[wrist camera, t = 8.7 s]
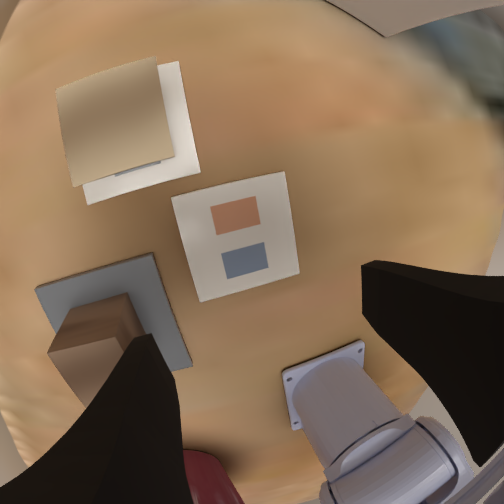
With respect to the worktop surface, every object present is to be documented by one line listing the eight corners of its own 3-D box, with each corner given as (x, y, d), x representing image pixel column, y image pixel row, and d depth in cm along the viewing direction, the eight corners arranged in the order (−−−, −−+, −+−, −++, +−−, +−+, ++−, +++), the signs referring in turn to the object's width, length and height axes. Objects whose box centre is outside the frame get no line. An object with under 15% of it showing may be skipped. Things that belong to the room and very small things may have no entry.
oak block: (174, 156, 15) (174, 156, 11) (101, 178, 15) (72, 187, 10) (160, 84, 14) (155, 55, 9) (86, 106, 13) (55, 89, 8)
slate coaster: (192, 362, 21) (193, 366, 20) (90, 383, 19) (89, 387, 18) (152, 252, 17) (151, 255, 17) (37, 286, 16) (34, 289, 15)
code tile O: (200, 172, 17) (200, 172, 16) (89, 204, 15) (87, 205, 15) (178, 62, 14) (178, 60, 14) (67, 96, 13) (65, 95, 12)
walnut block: (152, 346, 19) (151, 397, 14) (98, 360, 18) (87, 409, 13) (127, 292, 17) (115, 336, 12) (70, 308, 16) (46, 353, 12)
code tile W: (297, 271, 20) (299, 273, 20) (199, 299, 19) (200, 302, 19) (282, 171, 18) (284, 171, 17) (171, 196, 17) (170, 197, 16)
